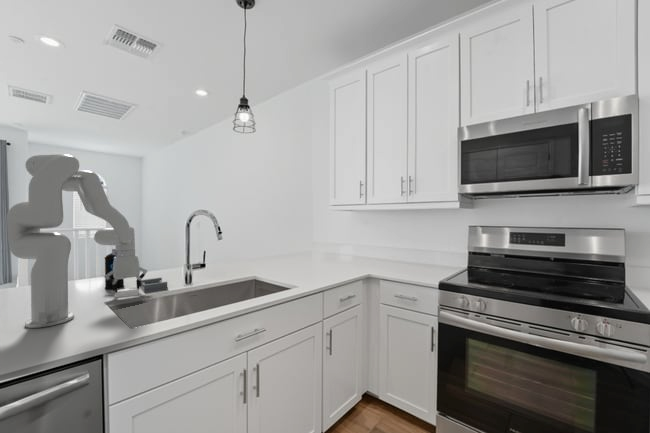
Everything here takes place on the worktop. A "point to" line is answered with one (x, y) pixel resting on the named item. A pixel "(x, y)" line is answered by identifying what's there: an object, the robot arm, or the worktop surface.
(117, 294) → the white rectangular block
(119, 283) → the aerosol can
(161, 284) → the pin tray
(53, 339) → the worktop surface
